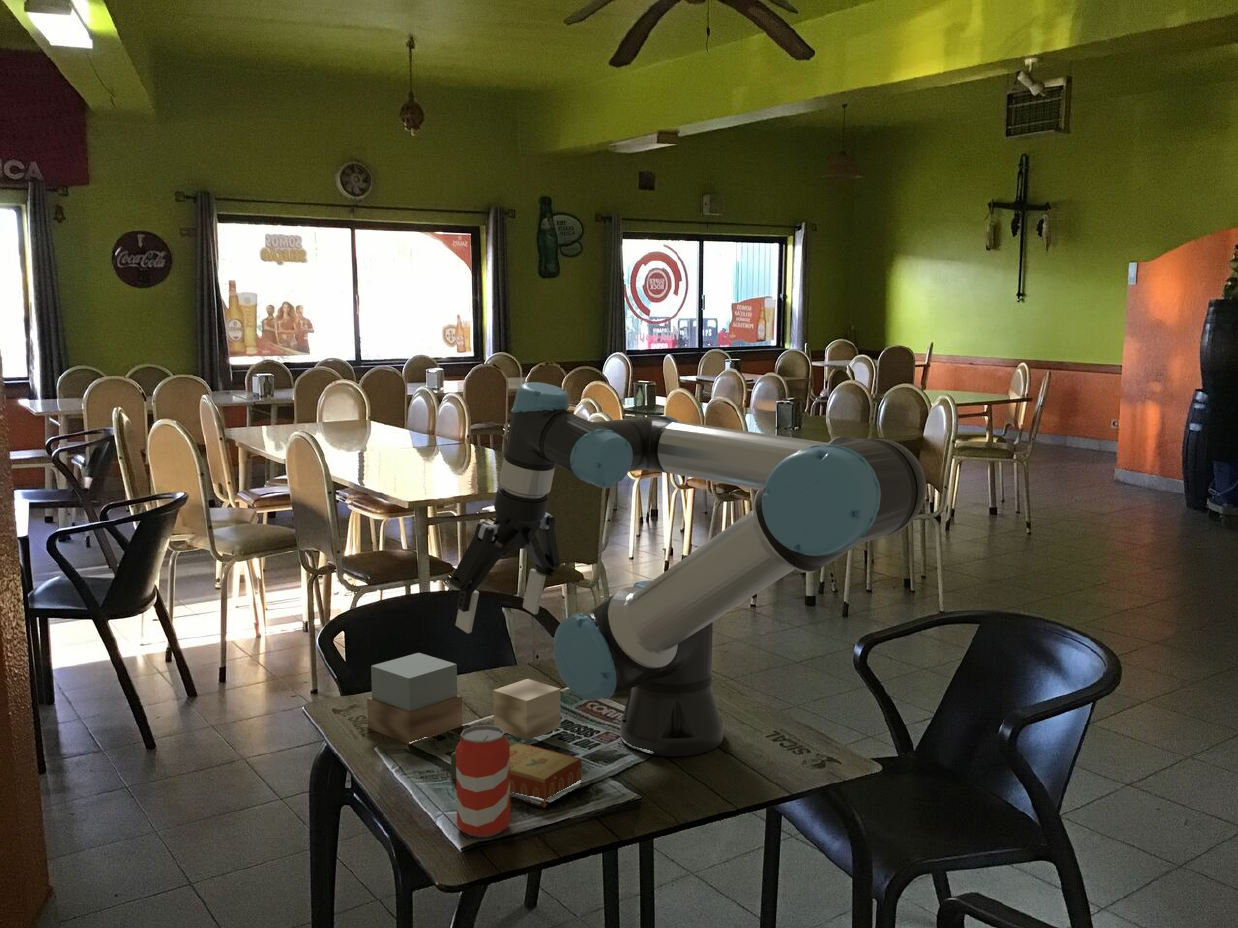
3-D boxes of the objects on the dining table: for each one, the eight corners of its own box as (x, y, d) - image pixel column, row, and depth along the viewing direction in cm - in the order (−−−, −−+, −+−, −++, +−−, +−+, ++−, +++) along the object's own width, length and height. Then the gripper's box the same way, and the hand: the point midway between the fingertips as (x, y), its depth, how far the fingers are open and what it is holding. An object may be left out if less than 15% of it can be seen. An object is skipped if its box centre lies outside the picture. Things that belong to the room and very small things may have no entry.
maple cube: (560, 733, 163) (560, 688, 162) (527, 747, 157) (526, 700, 156) (527, 722, 167) (527, 678, 166) (493, 735, 162) (493, 690, 161)
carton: (544, 811, 137) (543, 778, 137) (449, 781, 146) (448, 750, 146) (582, 787, 144) (582, 756, 144) (489, 760, 153) (489, 731, 153)
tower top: (457, 696, 165) (456, 664, 164) (409, 711, 158) (409, 678, 158) (419, 683, 171) (418, 652, 170) (371, 697, 164) (371, 665, 163)
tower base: (462, 727, 166) (461, 695, 165) (409, 746, 158) (409, 713, 158) (420, 712, 172) (419, 681, 172) (368, 730, 165) (367, 698, 164)
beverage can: (452, 839, 129) (450, 741, 127) (466, 815, 135) (464, 722, 134) (502, 842, 128) (501, 744, 127) (514, 818, 134) (513, 724, 133)
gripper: (565, 470, 169) (539, 593, 175) (440, 489, 150) (416, 625, 157) (600, 488, 165) (572, 613, 171) (476, 509, 146) (449, 649, 152)
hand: (497, 619), depth 164 cm, fingers open, 13 cm apart
